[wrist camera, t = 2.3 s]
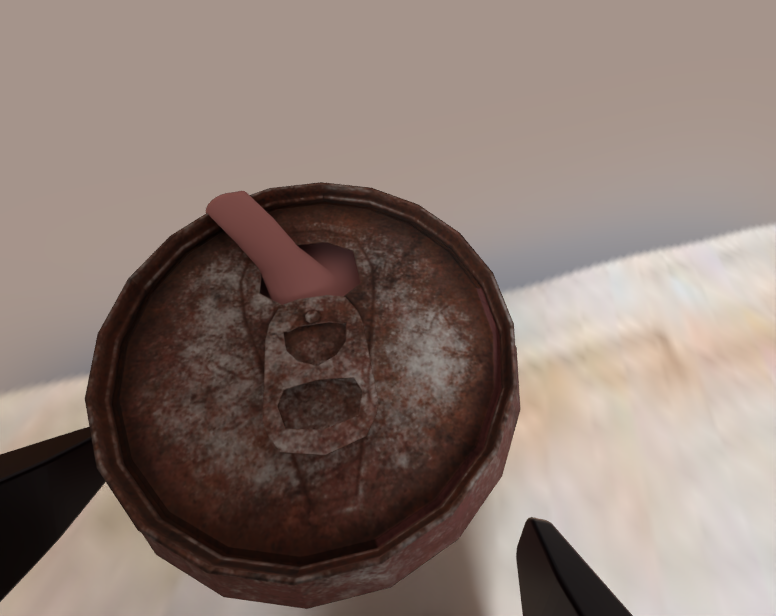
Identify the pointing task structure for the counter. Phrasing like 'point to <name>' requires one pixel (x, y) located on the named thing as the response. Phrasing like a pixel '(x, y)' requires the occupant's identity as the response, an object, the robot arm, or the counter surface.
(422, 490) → the can
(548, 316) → the counter surface
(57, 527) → the robot arm
